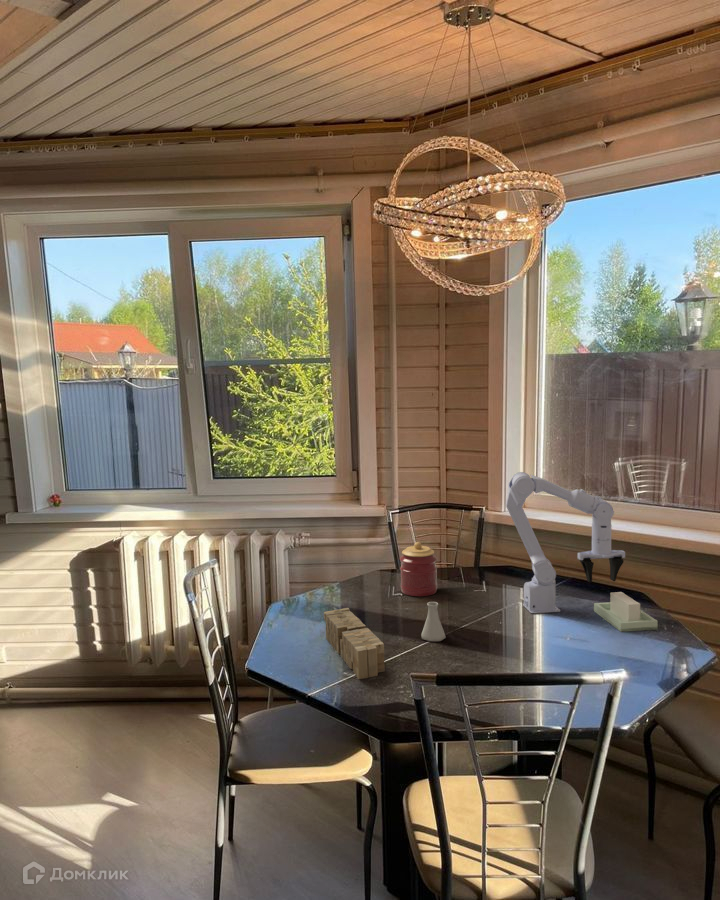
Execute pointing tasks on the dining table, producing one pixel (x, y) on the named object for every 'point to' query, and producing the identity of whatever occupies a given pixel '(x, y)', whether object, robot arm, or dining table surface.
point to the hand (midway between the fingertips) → (601, 580)
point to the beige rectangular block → (624, 607)
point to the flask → (433, 625)
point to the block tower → (354, 643)
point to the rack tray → (643, 624)
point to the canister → (418, 571)
